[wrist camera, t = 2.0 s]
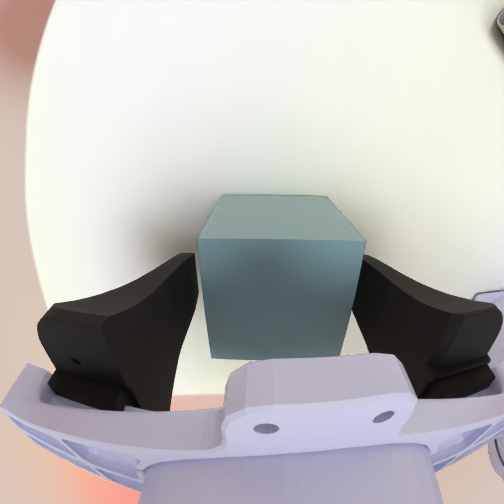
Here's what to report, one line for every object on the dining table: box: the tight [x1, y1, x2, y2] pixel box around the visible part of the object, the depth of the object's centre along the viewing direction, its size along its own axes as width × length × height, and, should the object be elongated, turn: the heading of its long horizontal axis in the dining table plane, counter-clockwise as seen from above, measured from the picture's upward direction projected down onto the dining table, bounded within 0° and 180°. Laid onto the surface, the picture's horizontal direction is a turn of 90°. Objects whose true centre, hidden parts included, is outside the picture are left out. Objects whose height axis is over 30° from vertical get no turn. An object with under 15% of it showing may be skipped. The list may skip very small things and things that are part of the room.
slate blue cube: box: [197, 195, 366, 360], centre depth 12 cm, size 6×6×6 cm
